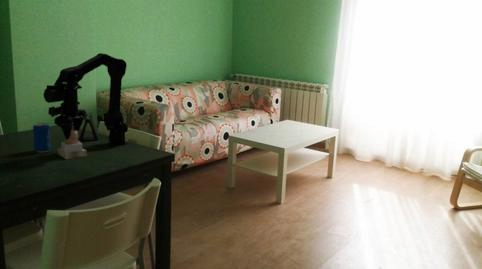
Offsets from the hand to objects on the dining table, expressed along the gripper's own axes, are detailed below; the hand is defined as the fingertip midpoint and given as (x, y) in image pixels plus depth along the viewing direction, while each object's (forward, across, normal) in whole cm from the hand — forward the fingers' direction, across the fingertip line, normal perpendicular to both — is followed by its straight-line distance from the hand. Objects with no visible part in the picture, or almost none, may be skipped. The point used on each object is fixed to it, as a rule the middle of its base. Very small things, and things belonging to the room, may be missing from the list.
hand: (71, 136), depth 187 cm
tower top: (+6, 0, 0) cm, 6 cm away
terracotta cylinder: (+3, 0, 0) cm, 3 cm away
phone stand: (+8, -27, -3) cm, 28 cm away
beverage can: (+8, -3, -14) cm, 17 cm away
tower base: (+9, 0, 0) cm, 9 cm away
